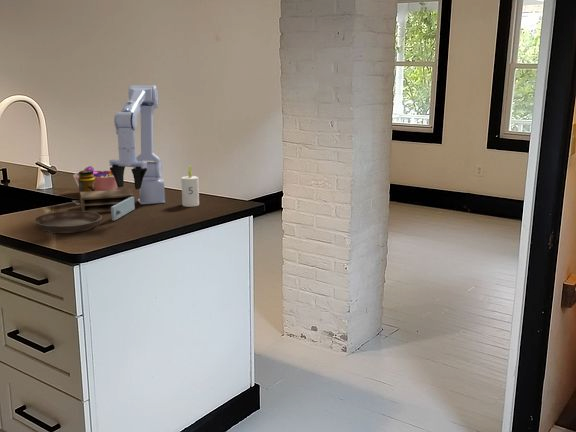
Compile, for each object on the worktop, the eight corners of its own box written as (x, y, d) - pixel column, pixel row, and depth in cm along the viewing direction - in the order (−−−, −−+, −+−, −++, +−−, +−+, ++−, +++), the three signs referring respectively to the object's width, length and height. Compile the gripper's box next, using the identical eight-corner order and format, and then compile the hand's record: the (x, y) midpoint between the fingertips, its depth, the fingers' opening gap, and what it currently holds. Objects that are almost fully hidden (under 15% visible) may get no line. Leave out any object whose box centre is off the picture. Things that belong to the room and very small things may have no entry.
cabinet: (130, 203, 232) (130, 188, 231) (134, 209, 222) (133, 194, 221) (81, 206, 226) (80, 192, 225) (82, 213, 216) (81, 198, 215)
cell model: (113, 199, 239) (111, 171, 236) (66, 197, 242) (63, 169, 240) (131, 190, 255) (129, 164, 252) (86, 188, 258) (84, 162, 256)
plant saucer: (101, 217, 212) (100, 208, 211) (103, 232, 193) (102, 222, 192) (37, 222, 205) (36, 212, 204) (33, 238, 186) (32, 227, 185)
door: (132, 208, 222) (131, 196, 221) (137, 208, 221) (137, 196, 220) (111, 220, 205) (110, 207, 204) (117, 220, 205) (116, 207, 204)
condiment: (99, 202, 233) (97, 171, 230) (77, 205, 229) (74, 173, 226) (94, 199, 239) (92, 169, 236) (72, 201, 235) (69, 170, 232)
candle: (182, 207, 227) (181, 167, 223) (182, 203, 233) (180, 164, 229) (199, 206, 228) (198, 166, 224) (198, 202, 234) (197, 164, 231)
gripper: (102, 148, 204) (104, 187, 207) (136, 150, 198) (138, 191, 201) (116, 146, 210) (118, 184, 213) (150, 148, 204) (152, 188, 207)
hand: (129, 187), depth 208 cm, fingers open, 7 cm apart
